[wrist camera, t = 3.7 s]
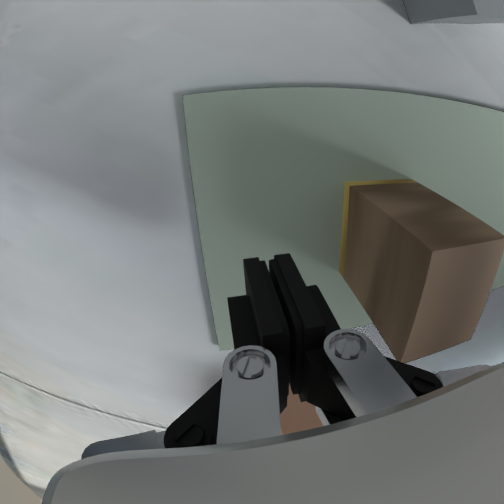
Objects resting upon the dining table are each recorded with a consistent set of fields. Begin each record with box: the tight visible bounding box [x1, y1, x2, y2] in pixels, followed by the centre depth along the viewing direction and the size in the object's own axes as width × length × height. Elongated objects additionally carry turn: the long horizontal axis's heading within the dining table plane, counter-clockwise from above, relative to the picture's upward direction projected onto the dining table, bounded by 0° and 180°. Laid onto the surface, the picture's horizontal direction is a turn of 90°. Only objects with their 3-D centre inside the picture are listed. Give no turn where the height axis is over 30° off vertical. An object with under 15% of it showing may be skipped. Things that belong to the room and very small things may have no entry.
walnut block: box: [339, 179, 504, 363], centre depth 13 cm, size 4×5×7 cm
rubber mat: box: [183, 87, 504, 350], centre depth 16 cm, size 24×14×1 cm, turn 94°
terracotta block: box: [280, 384, 324, 435], centre depth 21 cm, size 5×5×5 cm
